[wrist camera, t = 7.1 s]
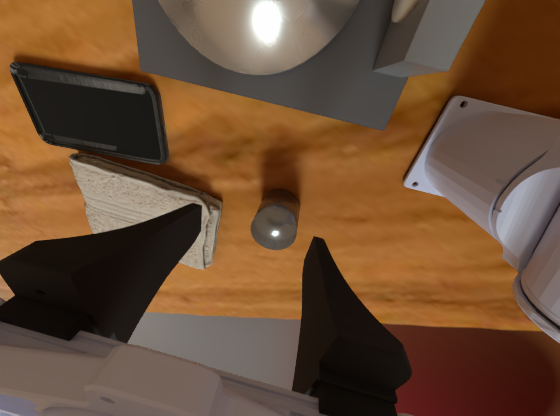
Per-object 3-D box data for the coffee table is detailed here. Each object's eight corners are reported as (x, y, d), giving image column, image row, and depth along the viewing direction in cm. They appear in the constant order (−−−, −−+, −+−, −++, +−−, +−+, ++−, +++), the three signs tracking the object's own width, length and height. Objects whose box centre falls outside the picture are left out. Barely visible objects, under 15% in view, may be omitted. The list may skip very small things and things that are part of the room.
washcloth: (217, 261, 31) (208, 277, 28) (102, 225, 31) (82, 238, 28) (227, 193, 25) (217, 206, 22) (83, 148, 25) (55, 156, 22)
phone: (4, 60, 20) (153, 84, 19) (19, 61, 21) (161, 85, 20) (42, 143, 24) (166, 167, 23) (53, 141, 25) (172, 164, 24)
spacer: (304, 194, 23) (301, 219, 18) (294, 226, 25) (290, 254, 21) (265, 184, 23) (254, 206, 18) (259, 216, 25) (248, 243, 21)
